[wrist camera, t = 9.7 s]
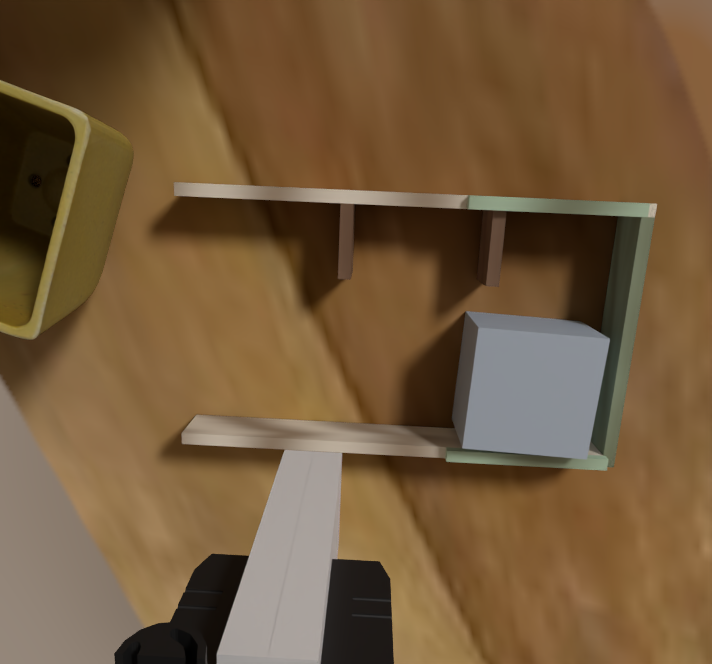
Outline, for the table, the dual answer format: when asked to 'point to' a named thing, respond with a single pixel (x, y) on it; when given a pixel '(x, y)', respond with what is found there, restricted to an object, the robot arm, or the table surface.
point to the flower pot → (54, 207)
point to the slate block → (528, 384)
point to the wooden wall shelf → (618, 304)
